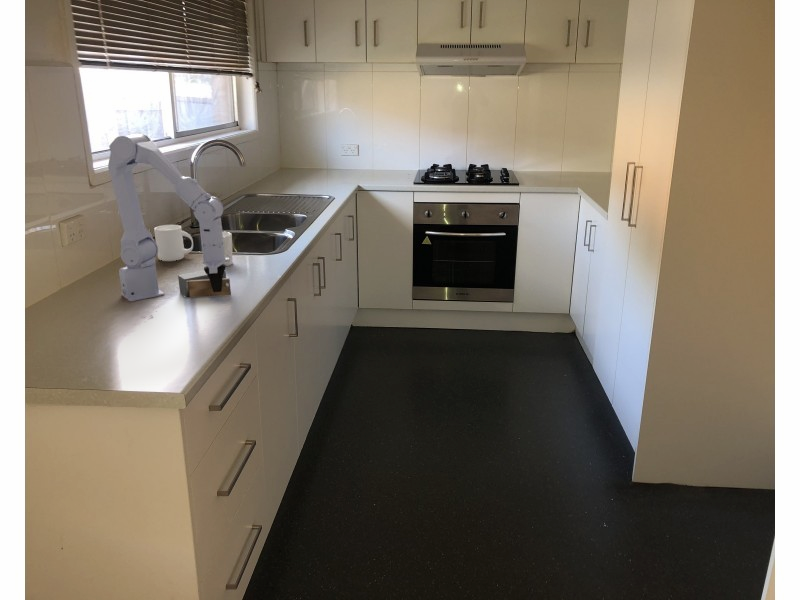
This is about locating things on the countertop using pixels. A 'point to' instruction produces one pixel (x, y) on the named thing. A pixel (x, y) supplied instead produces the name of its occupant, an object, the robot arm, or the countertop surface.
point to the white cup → (227, 247)
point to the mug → (171, 242)
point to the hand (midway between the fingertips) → (217, 291)
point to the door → (206, 288)
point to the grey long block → (192, 276)
